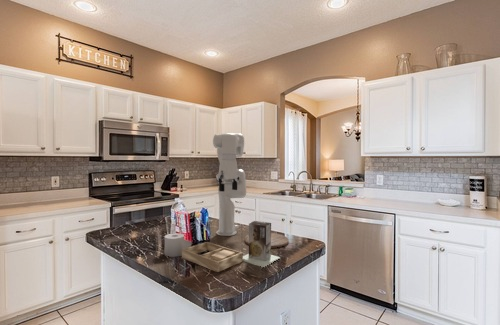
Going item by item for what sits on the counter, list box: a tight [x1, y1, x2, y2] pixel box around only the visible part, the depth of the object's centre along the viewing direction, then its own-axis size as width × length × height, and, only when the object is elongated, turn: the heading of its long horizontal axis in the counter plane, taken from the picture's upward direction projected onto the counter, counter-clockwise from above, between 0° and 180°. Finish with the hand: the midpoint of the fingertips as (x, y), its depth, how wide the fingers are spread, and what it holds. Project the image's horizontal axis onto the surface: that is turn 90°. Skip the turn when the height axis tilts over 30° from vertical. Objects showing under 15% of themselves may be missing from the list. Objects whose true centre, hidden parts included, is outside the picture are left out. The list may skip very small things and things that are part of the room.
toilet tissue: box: [164, 232, 193, 258], centre depth 134 cm, size 9×13×9 cm
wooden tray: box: [181, 241, 244, 273], centre depth 125 cm, size 16×24×4 cm, turn 51°
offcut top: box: [211, 250, 235, 261], centre depth 121 cm, size 9×6×2 cm
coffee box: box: [248, 220, 272, 261], centre depth 127 cm, size 9×6×16 cm
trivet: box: [244, 232, 289, 249], centre depth 155 cm, size 25×25×2 cm
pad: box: [242, 253, 281, 268], centre depth 127 cm, size 13×14×1 cm
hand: (228, 190), depth 141 cm, fingers open, 9 cm apart
